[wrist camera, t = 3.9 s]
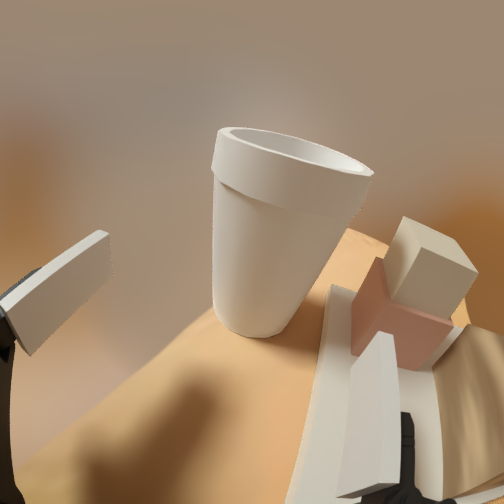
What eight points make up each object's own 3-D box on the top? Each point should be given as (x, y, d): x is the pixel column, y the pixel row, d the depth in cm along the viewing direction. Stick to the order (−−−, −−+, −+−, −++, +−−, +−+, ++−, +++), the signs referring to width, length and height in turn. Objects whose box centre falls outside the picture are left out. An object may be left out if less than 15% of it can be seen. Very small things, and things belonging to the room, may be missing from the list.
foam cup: (326, 343, 20) (404, 187, 13) (210, 364, 16) (252, 156, 10) (279, 270, 27) (318, 142, 21) (185, 273, 24) (206, 121, 17)
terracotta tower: (406, 321, 22) (456, 239, 17) (415, 371, 17) (486, 279, 12) (351, 303, 22) (396, 211, 18) (350, 354, 17) (416, 247, 13)
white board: (489, 348, 22) (496, 339, 21) (520, 489, 5) (532, 481, 4) (326, 295, 25) (331, 283, 24) (279, 517, 8) (289, 517, 8)
